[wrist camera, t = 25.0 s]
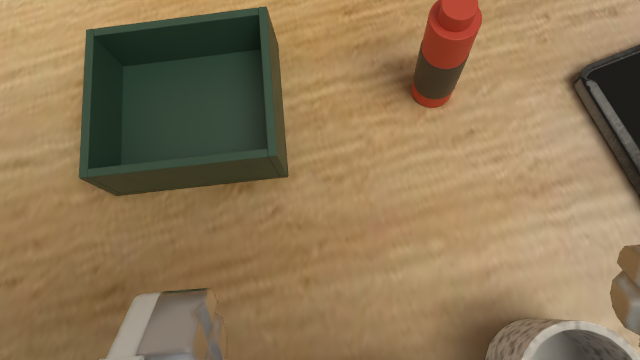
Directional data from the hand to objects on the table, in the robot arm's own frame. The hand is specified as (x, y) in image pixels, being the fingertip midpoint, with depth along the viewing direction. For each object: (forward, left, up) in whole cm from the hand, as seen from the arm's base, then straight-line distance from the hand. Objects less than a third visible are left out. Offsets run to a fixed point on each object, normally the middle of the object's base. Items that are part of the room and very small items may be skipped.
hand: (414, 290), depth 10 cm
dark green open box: (-12, +15, -23) cm, 30 cm away
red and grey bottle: (+6, +15, -23) cm, 29 cm away
